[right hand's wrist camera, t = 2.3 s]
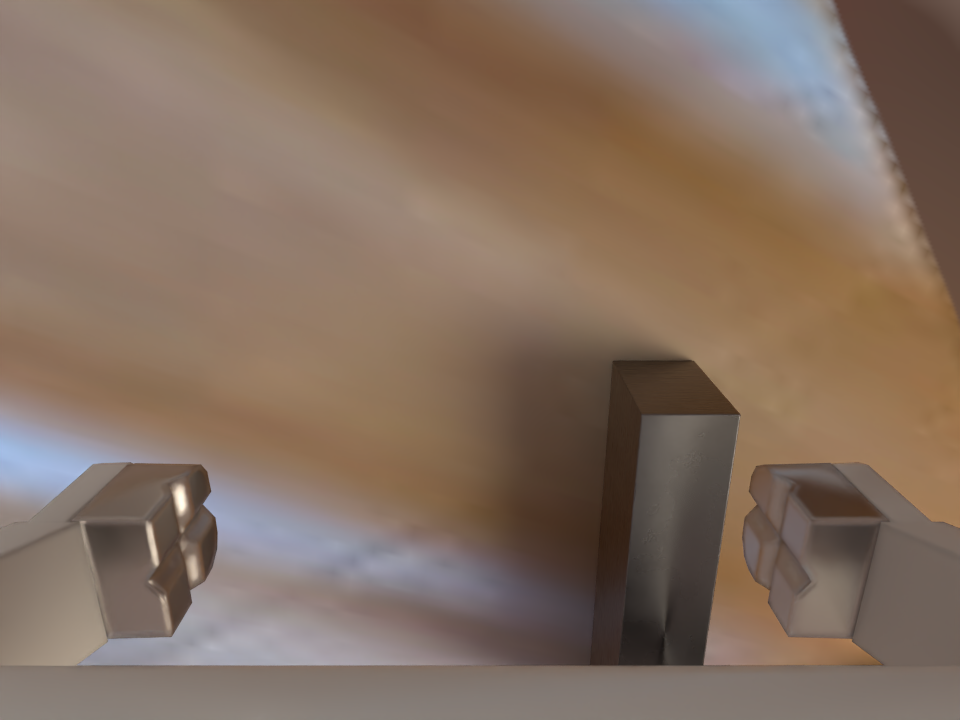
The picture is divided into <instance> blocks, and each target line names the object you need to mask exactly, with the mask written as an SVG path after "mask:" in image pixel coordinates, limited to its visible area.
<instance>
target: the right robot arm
mask: <svg viewBox="0 0 960 720" xmlns="http://www.w3.org/2000/svg"><path fill="white" fill-rule="evenodd" d="M210 492H211V488H210V483H209V478H208V473H207V471H206V470H205V469H204V467H203V466H202V465H201V464H148V463H135V464H133V463H131V462H130V463H101V464H93V465H92V466H91V467H89V468H88V469H87V470H86V471H85V472H84V473H83V474H82V475H80V476H79V477H78V478H77V479H76V480H75V481H74V482H73V483H71V484H70V485H69V486H68V487H67V488H66V489H65V490H64V491H62V492H61V493H60V494H59V495H58V496H57V497H56V498H55V499H53V500H52V501H51V502H50V503H49V504H48V505H47V506H46V507H44V508H43V509H42V510H41V511H40V512H39V513H38V514H37V515H35V516H34V517H33V518H32V519H31V520H30V521H29V522H15V523H13V524H10V525H8V526H5V527H3V528H0V720H960V528H957V527H955V526H952V525H950V524H947V523H945V522H931V521H930V520H929V519H928V518H927V517H926V516H925V515H924V514H922V513H921V512H920V511H919V510H918V509H917V508H916V507H915V506H913V505H912V504H911V503H910V502H909V501H908V500H907V499H906V498H904V497H903V496H902V495H901V494H900V493H899V492H898V491H897V490H895V489H894V488H893V487H892V486H891V485H890V484H889V483H888V482H887V481H885V480H884V479H883V478H882V477H881V476H880V475H879V474H878V473H876V472H875V471H874V470H873V469H872V468H871V467H870V466H869V465H866V464H863V463H859V462H855V463H833V464H831V463H814V464H772V465H760V466H756V468H755V470H754V472H753V474H752V476H751V482H750V488H749V492H750V494H751V496H752V497H753V499H754V500H755V502H756V503H757V505H756V506H755V507H754V508H753V509H752V510H751V512H750V513H749V514H748V515H747V516H746V517H745V519H744V527H743V536H742V540H743V549H744V557H745V560H746V563H747V566H748V569H749V571H750V573H751V575H752V576H753V578H754V580H755V581H756V582H757V583H759V584H761V585H762V586H764V587H765V588H767V589H769V590H770V593H769V599H768V604H769V605H770V607H771V609H772V610H773V612H774V614H775V615H776V617H777V619H778V620H779V622H780V624H781V625H782V627H783V629H784V630H785V632H786V634H787V635H788V637H809V638H846V639H852V642H854V643H855V644H856V645H858V646H859V647H860V648H862V649H863V650H864V651H866V652H867V653H868V654H870V655H871V656H872V657H874V658H875V659H876V660H878V661H879V662H880V663H882V664H883V665H760V666H76V665H77V664H78V663H80V662H81V661H82V660H84V659H85V658H87V657H88V656H89V655H91V654H92V653H93V652H95V651H96V650H97V649H99V648H100V647H101V646H103V645H104V644H105V643H107V642H108V640H107V639H114V638H149V637H172V635H173V634H174V632H175V630H176V629H177V627H178V625H179V624H180V622H181V620H182V619H183V617H184V615H185V614H186V612H187V610H188V609H189V607H190V605H191V604H192V599H191V593H190V590H191V589H193V588H195V587H196V586H198V585H199V584H201V583H203V582H204V581H205V580H206V578H207V576H208V574H209V573H210V571H211V569H212V567H213V563H214V559H215V555H216V551H217V526H216V519H215V517H214V516H213V515H212V514H211V513H210V512H209V510H208V509H207V508H206V507H205V506H204V505H203V503H204V502H205V500H206V499H207V497H208V496H209V494H210Z"/></svg>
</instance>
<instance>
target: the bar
mask: <svg viewBox="0 0 960 720" xmlns="http://www.w3.org/2000/svg"><path fill="white" fill-rule="evenodd" d="M739 422H740V413H739V412H738V411H737V410H736V409H735V408H734V407H733V405H732V404H731V403H730V402H729V401H728V400H727V399H726V397H725V396H724V395H723V394H722V393H721V392H720V390H719V389H718V388H717V387H716V386H715V385H714V384H713V382H712V381H711V380H710V379H709V378H708V377H707V375H706V374H705V373H704V372H703V371H702V370H701V369H700V367H699V366H698V365H697V364H696V363H695V362H694V361H613V365H612V379H611V392H610V405H609V419H608V432H607V446H606V459H605V472H604V486H603V499H602V513H601V526H600V539H599V553H598V566H597V580H596V593H595V607H594V620H593V633H592V647H591V660H590V666H703V663H704V656H705V650H706V643H707V636H708V629H709V623H710V616H711V609H712V603H713V596H714V589H715V583H716V576H717V569H718V562H719V556H720V549H721V542H722V536H723V529H724V522H725V516H726V509H727V502H728V495H729V489H730V482H731V475H732V469H733V462H734V455H735V449H736V442H737V435H738V428H739Z"/></svg>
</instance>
